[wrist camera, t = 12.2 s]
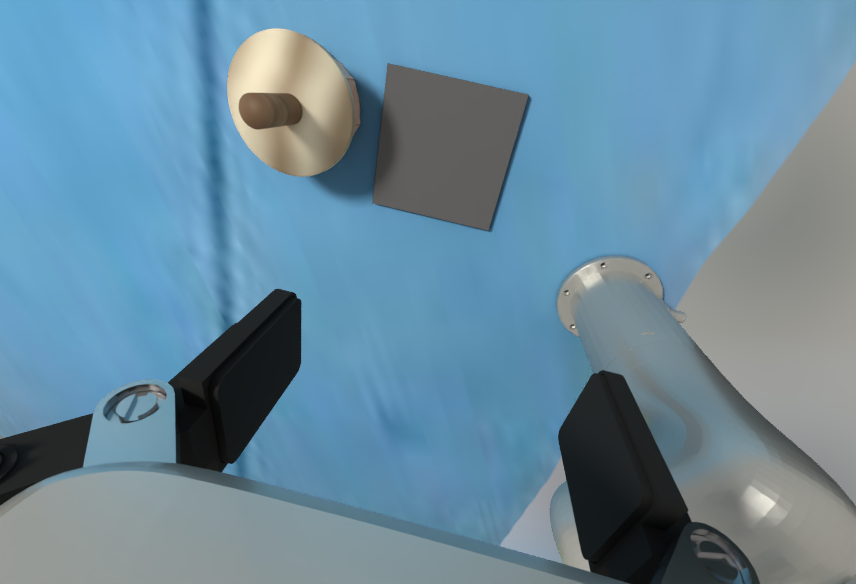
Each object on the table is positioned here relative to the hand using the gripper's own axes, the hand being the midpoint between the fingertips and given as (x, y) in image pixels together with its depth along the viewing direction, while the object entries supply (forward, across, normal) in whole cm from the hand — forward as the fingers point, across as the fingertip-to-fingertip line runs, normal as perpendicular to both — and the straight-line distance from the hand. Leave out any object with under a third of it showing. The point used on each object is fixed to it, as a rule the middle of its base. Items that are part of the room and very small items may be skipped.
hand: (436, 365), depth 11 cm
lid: (+29, +20, -3) cm, 35 cm away
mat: (+34, +4, -1) cm, 35 cm away
